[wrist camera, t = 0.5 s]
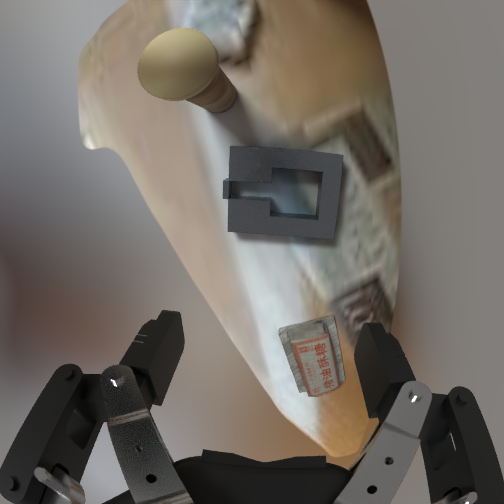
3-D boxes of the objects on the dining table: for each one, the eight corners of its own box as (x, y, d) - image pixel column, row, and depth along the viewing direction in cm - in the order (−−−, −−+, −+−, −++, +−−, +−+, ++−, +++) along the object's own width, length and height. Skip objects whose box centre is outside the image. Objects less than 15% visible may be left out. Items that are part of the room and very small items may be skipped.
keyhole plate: (330, 233, 39) (333, 239, 36) (225, 225, 39) (222, 231, 37) (338, 154, 34) (343, 155, 32) (227, 146, 35) (224, 146, 33)
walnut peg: (197, 76, 31) (141, 35, 15) (243, 74, 31) (217, 23, 15) (195, 118, 34) (134, 102, 18) (241, 117, 33) (212, 95, 17)
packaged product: (276, 344, 42) (338, 329, 40) (276, 326, 46) (332, 312, 44) (299, 405, 48) (348, 394, 46) (298, 387, 52) (344, 377, 50)
